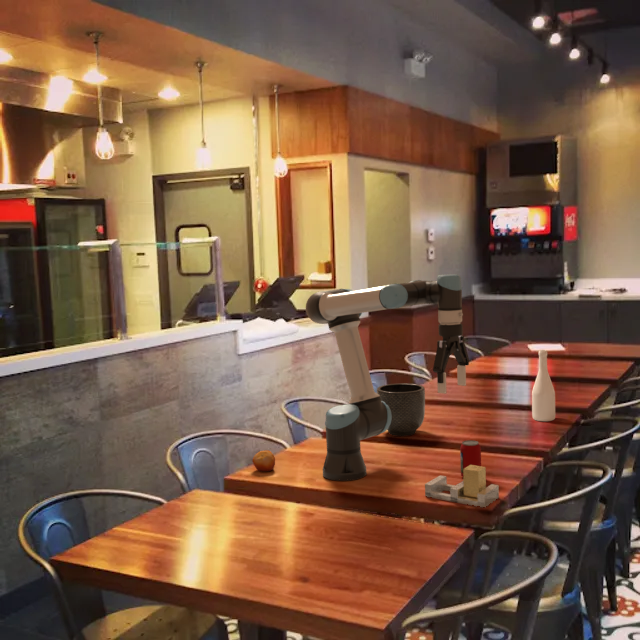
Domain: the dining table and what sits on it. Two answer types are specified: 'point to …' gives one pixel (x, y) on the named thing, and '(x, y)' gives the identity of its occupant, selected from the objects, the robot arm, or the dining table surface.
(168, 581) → the dining table surface
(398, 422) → the planter
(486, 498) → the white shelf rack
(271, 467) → the fruit
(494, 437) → the dining table surface
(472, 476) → the brass block
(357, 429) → the robot arm
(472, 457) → the beverage can
